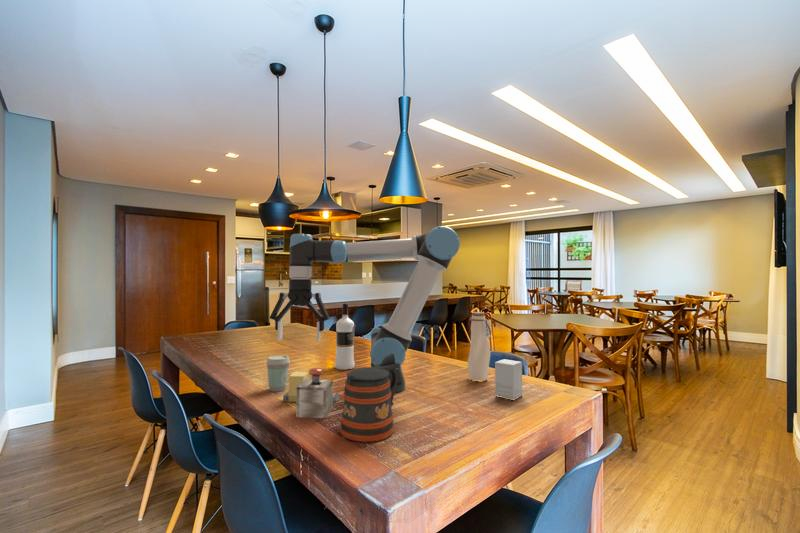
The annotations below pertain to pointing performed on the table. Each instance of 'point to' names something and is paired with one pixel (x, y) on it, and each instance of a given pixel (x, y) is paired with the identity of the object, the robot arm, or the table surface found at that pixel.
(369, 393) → the beer stein
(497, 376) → the supplement box
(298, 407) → the grey open box
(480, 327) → the water bottle
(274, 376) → the coffee cup
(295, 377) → the carriage
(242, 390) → the table surface
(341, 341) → the vodka
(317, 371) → the plunger
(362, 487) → the table surface
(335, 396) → the rail
